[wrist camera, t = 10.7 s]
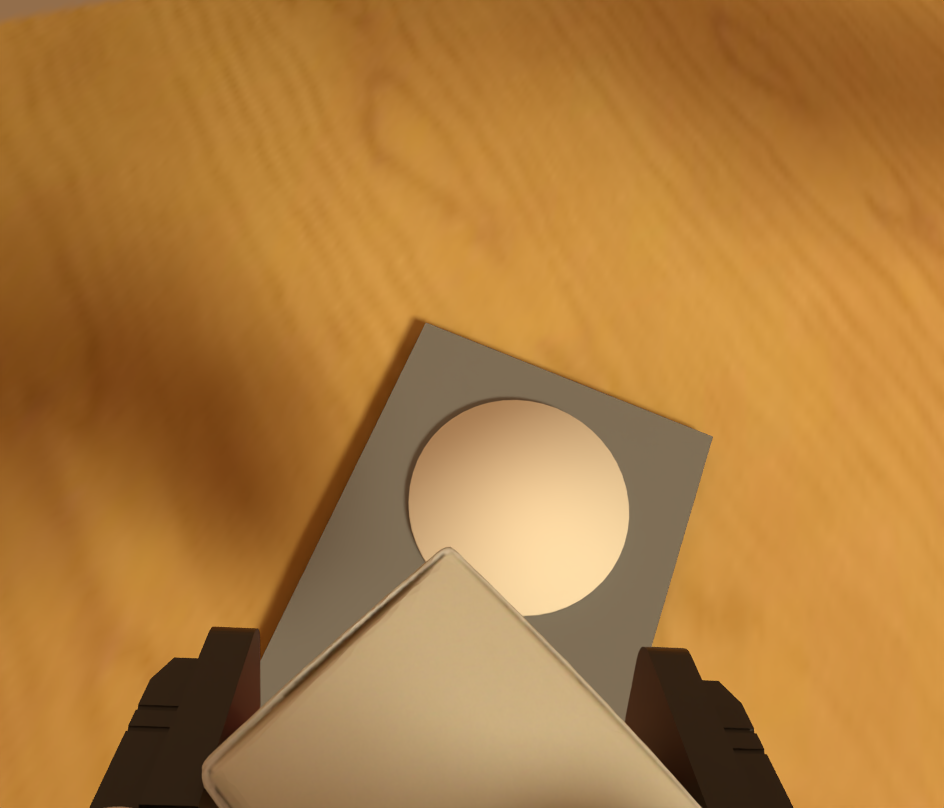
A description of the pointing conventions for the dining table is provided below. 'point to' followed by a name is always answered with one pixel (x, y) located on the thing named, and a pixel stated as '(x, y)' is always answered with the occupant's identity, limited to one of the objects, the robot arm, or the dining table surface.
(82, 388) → the dining table surface
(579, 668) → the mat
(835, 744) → the dining table surface
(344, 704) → the small box
